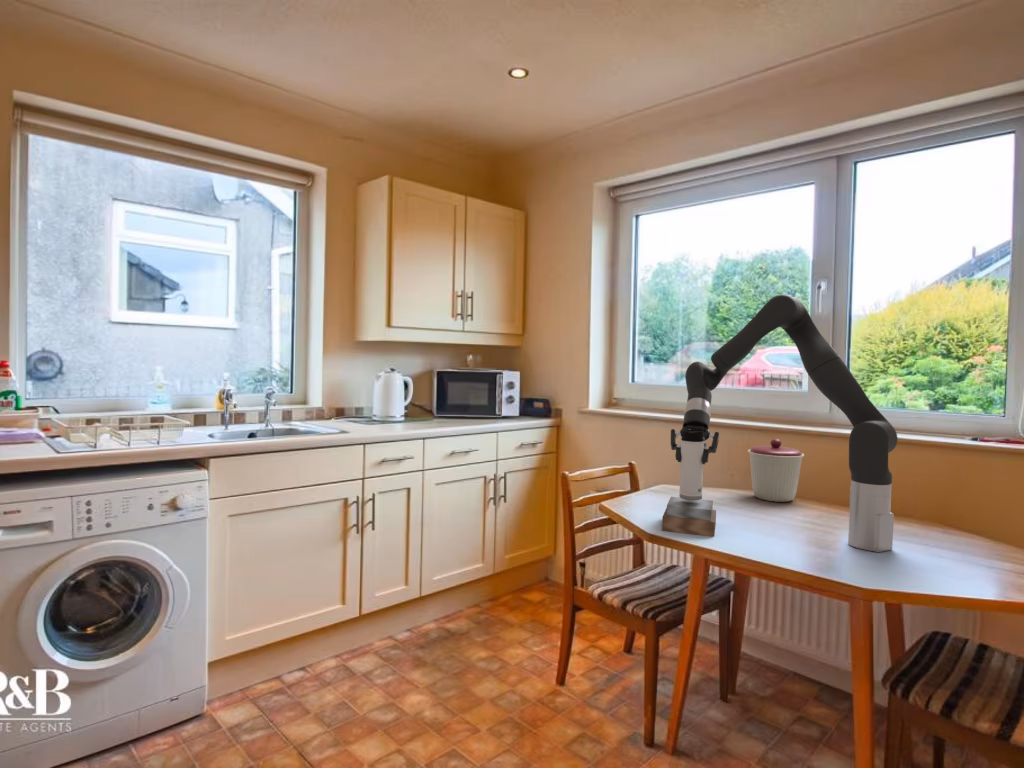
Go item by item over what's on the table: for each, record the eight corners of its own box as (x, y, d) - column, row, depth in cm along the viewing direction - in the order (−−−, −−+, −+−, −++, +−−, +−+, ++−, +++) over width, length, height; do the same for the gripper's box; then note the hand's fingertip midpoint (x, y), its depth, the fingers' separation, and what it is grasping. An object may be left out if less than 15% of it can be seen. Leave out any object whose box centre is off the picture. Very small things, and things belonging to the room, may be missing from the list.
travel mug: (705, 500, 172) (708, 430, 171) (682, 500, 172) (684, 430, 171) (699, 495, 178) (701, 427, 177) (677, 495, 179) (679, 427, 177)
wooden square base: (715, 523, 180) (716, 500, 180) (714, 536, 167) (715, 511, 166) (667, 518, 185) (667, 495, 184) (662, 530, 171) (662, 506, 171)
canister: (752, 490, 226) (754, 434, 225) (806, 497, 215) (808, 438, 214) (740, 499, 211) (742, 439, 210) (797, 508, 201) (799, 444, 199)
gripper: (671, 407, 184) (664, 451, 173) (721, 409, 178) (717, 455, 168) (673, 422, 189) (666, 467, 179) (722, 425, 183) (718, 471, 173)
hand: (691, 461), depth 173 cm, fingers closed on travel mug, 6 cm apart
